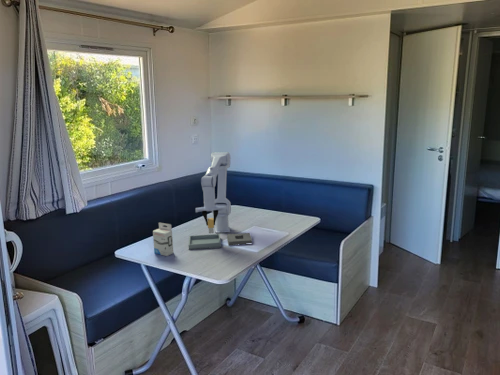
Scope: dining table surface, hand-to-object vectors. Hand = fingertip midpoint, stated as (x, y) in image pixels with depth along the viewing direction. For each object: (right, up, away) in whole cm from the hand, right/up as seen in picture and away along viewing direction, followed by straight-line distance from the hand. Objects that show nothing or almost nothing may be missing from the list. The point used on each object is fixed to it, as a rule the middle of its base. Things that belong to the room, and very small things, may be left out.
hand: (210, 224), depth 226 cm
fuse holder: (+15, -9, +4) cm, 18 cm away
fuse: (0, -4, 0) cm, 4 cm away
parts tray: (-3, -10, +2) cm, 11 cm away
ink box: (-22, -13, -10) cm, 28 cm away
